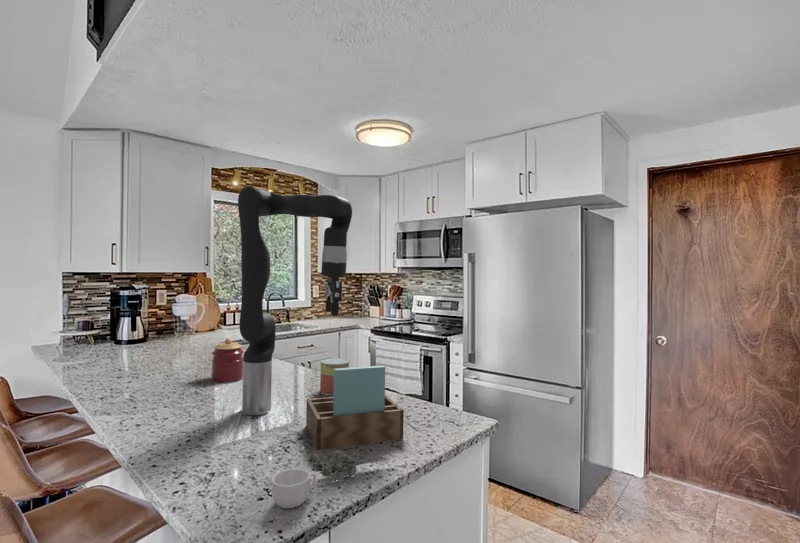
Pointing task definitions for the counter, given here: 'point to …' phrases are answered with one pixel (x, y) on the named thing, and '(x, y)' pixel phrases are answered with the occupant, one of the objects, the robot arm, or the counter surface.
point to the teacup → (291, 487)
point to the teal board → (359, 390)
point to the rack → (352, 425)
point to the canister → (227, 362)
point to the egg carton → (337, 465)
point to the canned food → (330, 373)
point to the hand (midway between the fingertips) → (331, 313)
